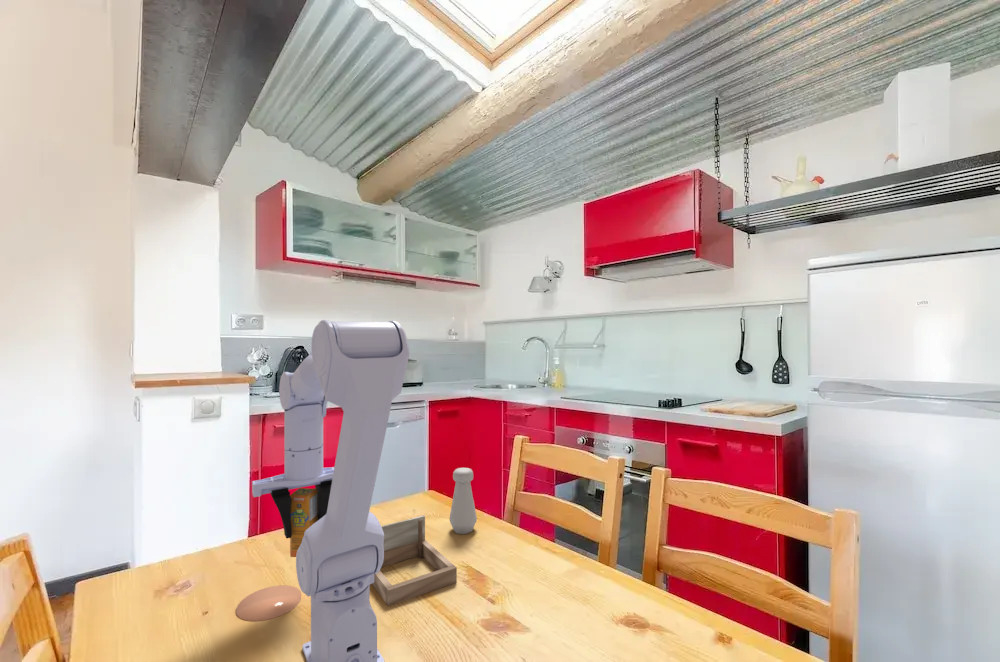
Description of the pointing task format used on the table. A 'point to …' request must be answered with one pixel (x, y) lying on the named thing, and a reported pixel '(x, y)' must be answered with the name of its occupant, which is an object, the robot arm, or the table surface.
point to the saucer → (268, 603)
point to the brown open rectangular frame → (406, 544)
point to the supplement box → (302, 515)
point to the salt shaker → (463, 502)
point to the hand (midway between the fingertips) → (304, 532)
